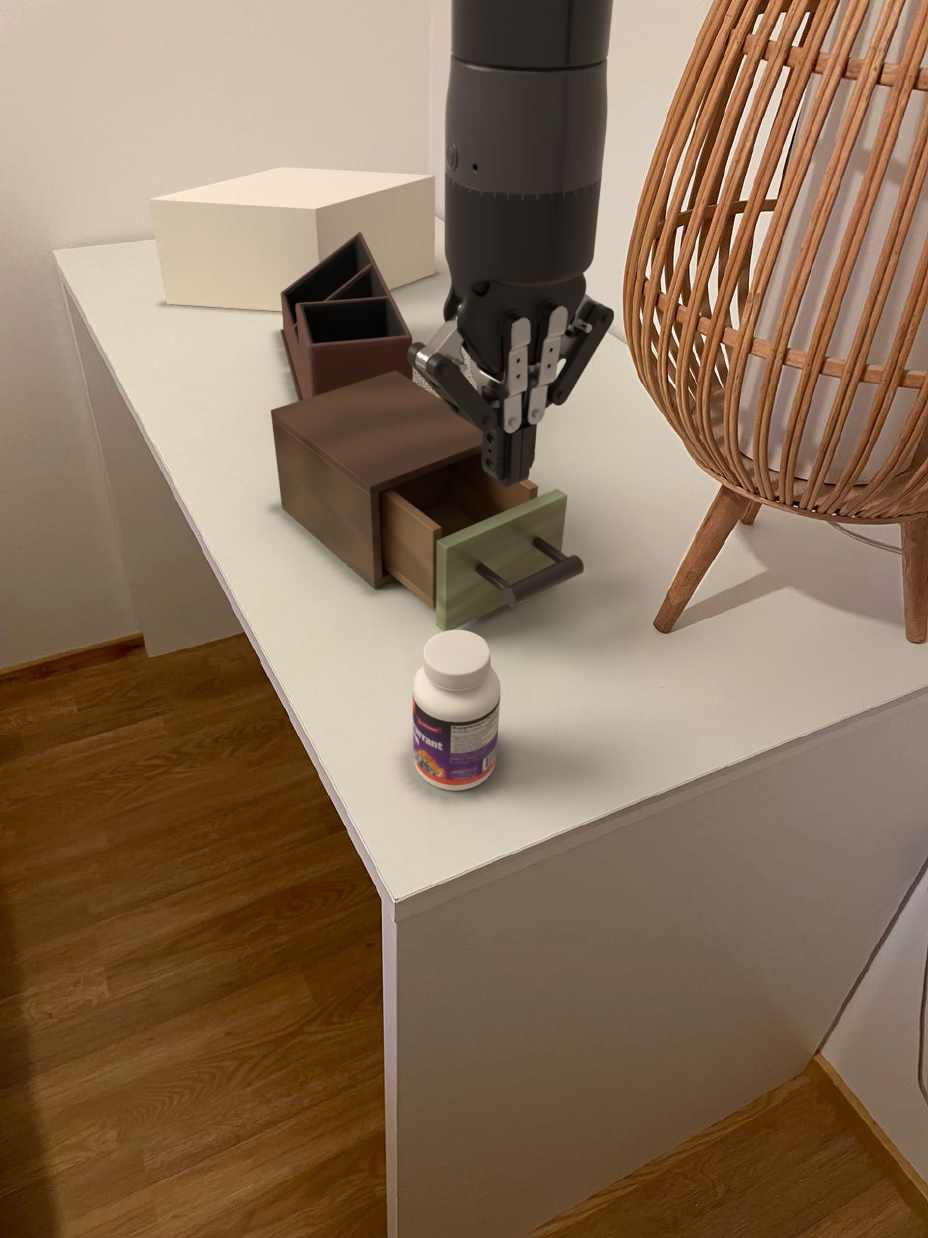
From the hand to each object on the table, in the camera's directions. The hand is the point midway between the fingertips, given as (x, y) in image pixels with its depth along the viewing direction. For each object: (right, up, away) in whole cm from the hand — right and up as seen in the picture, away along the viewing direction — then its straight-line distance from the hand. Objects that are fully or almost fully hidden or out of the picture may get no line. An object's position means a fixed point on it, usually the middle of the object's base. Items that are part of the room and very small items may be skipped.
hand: (507, 477), depth 57 cm
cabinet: (-9, 0, +27) cm, 29 cm away
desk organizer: (-15, +17, +47) cm, 52 cm away
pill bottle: (-3, -18, +6) cm, 19 cm away
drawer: (-2, -5, +20) cm, 21 cm away
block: (-23, +34, +68) cm, 79 cm away
